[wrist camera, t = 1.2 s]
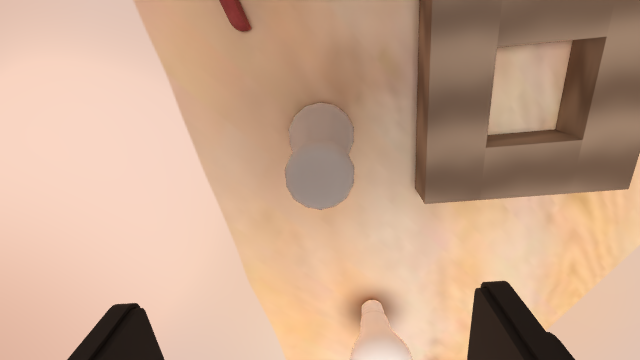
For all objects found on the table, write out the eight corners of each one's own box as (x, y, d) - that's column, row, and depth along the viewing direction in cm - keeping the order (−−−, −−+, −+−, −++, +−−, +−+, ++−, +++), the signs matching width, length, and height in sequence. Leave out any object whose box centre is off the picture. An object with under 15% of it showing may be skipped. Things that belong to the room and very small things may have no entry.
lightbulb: (383, 275, 37) (403, 361, 27) (404, 310, 39) (431, 403, 29) (336, 295, 39) (340, 384, 29) (360, 328, 41) (371, 422, 31)
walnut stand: (420, -14, 26) (433, -22, 23) (653, -39, 25) (702, -52, 22) (415, 188, 33) (424, 203, 30) (598, 174, 32) (628, 189, 29)
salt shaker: (300, 163, 32) (285, 234, 20) (283, 107, 30) (255, 149, 18) (358, 149, 32) (377, 214, 20) (344, 91, 29) (356, 123, 17)
